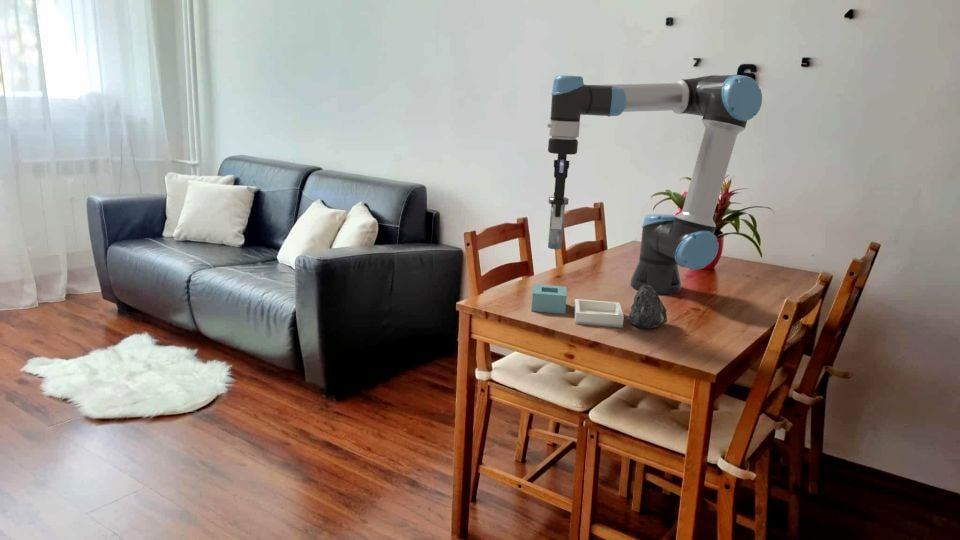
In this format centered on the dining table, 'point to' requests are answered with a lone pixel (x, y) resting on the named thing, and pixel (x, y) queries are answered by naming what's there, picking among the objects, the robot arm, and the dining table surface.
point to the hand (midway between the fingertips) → (556, 226)
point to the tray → (598, 313)
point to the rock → (647, 309)
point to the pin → (556, 234)
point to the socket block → (549, 298)
